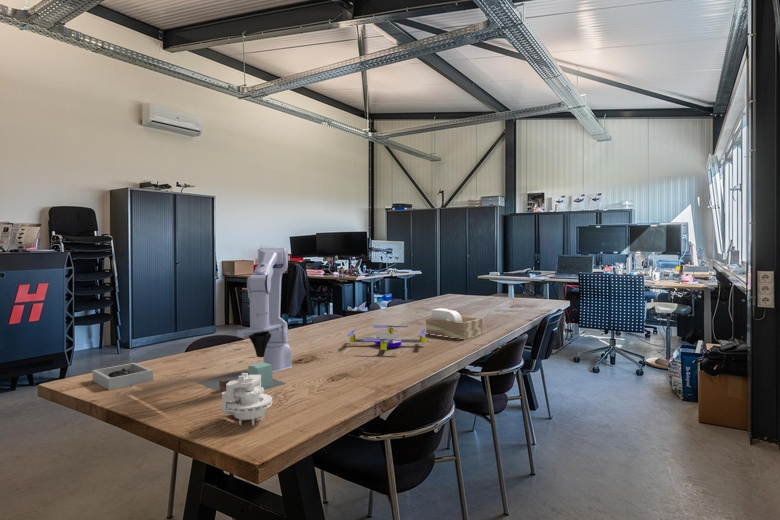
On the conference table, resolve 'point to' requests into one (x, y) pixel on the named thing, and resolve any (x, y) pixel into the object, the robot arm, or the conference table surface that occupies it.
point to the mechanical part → (245, 398)
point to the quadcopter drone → (387, 338)
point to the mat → (215, 384)
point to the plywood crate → (455, 327)
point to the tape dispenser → (446, 315)
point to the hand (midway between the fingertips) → (260, 356)
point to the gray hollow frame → (134, 377)
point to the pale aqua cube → (262, 373)
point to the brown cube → (223, 384)
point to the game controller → (119, 373)
